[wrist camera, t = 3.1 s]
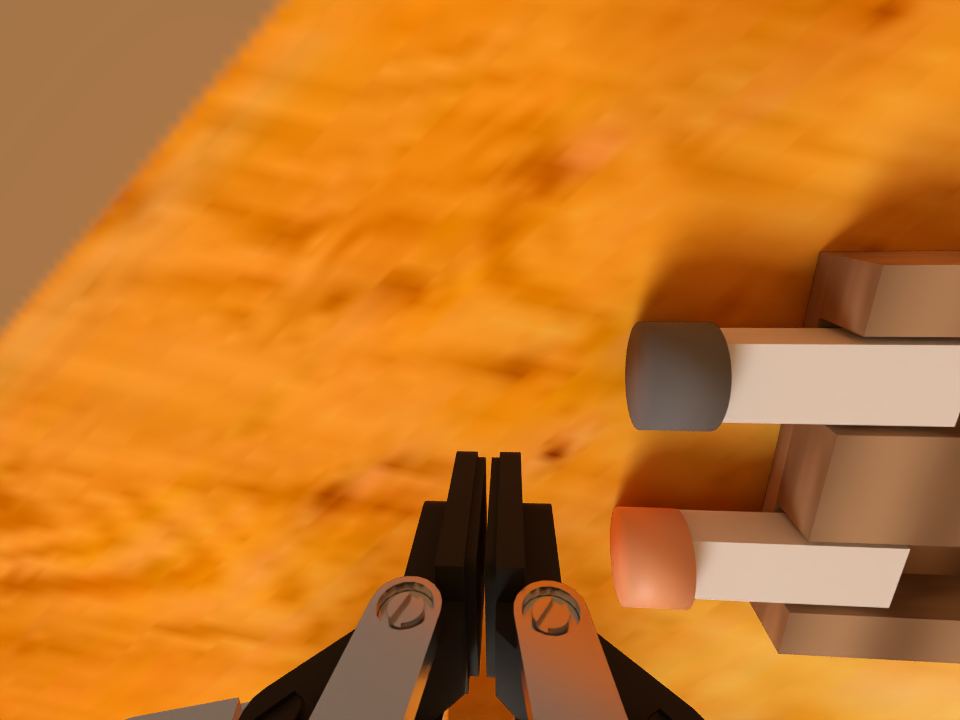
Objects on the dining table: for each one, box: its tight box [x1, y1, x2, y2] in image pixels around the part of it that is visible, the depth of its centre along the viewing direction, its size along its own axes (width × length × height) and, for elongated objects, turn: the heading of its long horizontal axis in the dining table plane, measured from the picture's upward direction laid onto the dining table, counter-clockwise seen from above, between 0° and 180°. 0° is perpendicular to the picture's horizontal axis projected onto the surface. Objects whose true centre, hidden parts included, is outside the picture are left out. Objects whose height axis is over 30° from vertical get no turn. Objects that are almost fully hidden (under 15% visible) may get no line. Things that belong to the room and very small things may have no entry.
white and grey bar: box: [625, 322, 960, 431], centre depth 21 cm, size 13×5×5 cm, turn 91°
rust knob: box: [610, 506, 910, 610], centre depth 24 cm, size 13×5×5 cm, turn 91°
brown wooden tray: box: [750, 251, 960, 663], centre depth 22 cm, size 12×20×5 cm, turn 1°
